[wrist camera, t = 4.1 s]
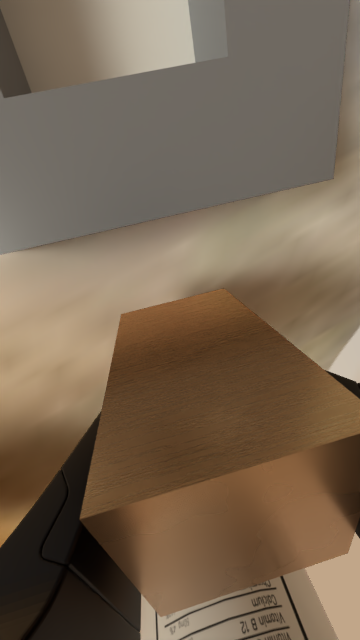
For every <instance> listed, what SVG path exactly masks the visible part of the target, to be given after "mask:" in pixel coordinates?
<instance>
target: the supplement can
mask: <svg viewBox="0 0 360 640" xmlns="http://www.w3.org/2000/svg"><path fill="white" fill-rule="evenodd" d="M141 640H338V638H337V636H336V634H335V632H334V629H333V627H332V625H331V623H330V621H329V619H328V617H327V614H326V612H325V610H324V608H323V606H322V604H321V602H320V600H319V597H318V595H317V593H316V591H315V589H314V587H313V585H312V583H311V580H310V578H309V576H308V574H307V572H306V570H305V568H303V569H300V570H297V571H294V572H291V573H288V574H286V575H283V576H280V577H277V578H274V579H271V580H268V581H265V582H262V583H259V584H256V585H253V586H251V587H248V588H245V589H242V590H239V591H236V592H233V593H230V594H227V595H224V596H221V597H218V598H216V599H213V600H210V601H207V602H204V603H201V604H198V605H195V606H192V607H189V608H186V609H183V610H181V611H178V612H175V613H172V614H169V615H166V616H163V617H160V616H159V615H158V613H157V612H156V611H155V610H154V609H153V607H152V606H151V605H150V604H149V603H148V601H147V600H146V599H145V598H144V597H143V595H142V594H141Z"/></svg>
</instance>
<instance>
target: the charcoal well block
mask: <svg viewBox="0 0 360 640" xmlns="http://www.w3.org/2000/svg"><path fill="white" fill-rule="evenodd" d="M349 6H350V0H0V255H2V254H6V253H10V252H15V251H19V250H24V249H28V248H32V247H37V246H41V245H46V244H50V243H54V242H59V241H63V240H67V239H72V238H76V237H81V236H85V235H89V234H94V233H98V232H102V231H107V230H111V229H116V228H120V227H124V226H129V225H133V224H138V223H142V222H146V221H151V220H155V219H159V218H164V217H168V216H173V215H177V214H181V213H186V212H190V211H194V210H199V209H203V208H208V207H212V206H216V205H221V204H225V203H230V202H234V201H238V200H243V199H247V198H251V197H256V196H260V195H265V194H269V193H273V192H278V191H282V190H287V189H291V188H295V187H300V186H304V185H308V184H313V183H317V182H322V181H326V180H330V179H334V168H335V157H336V146H337V136H338V125H339V114H340V103H341V92H342V81H343V71H344V60H345V49H346V38H347V27H348V16H349Z"/></svg>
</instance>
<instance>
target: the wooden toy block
mask: <svg viewBox="0 0 360 640" xmlns="http://www.w3.org/2000/svg"><path fill="white" fill-rule="evenodd" d="M359 518H360V399H359V398H358V397H357V396H355V395H354V394H353V393H352V392H350V391H349V390H348V389H347V388H345V387H344V386H343V385H342V384H341V383H339V382H338V381H337V380H336V379H334V378H333V377H332V376H331V375H330V374H328V373H327V372H326V371H325V370H323V369H322V368H321V367H320V366H318V365H317V364H316V363H315V362H314V361H312V360H311V359H310V358H309V357H307V356H306V355H305V354H304V353H303V352H301V351H300V350H299V349H298V348H296V347H295V346H294V345H293V344H291V343H290V342H289V341H288V340H287V339H285V338H284V337H283V336H282V335H280V334H279V333H278V332H277V331H276V330H274V329H273V328H272V327H271V326H269V325H268V324H267V323H266V322H264V321H263V320H262V319H261V318H260V317H258V316H257V315H256V314H255V313H253V312H252V311H251V310H250V309H248V308H247V307H246V306H245V305H244V304H242V303H241V302H240V301H239V300H237V299H236V298H235V297H234V296H233V295H231V294H230V293H229V292H228V291H226V290H225V289H224V288H223V289H219V290H215V291H211V292H207V293H203V294H200V295H196V296H192V297H188V298H184V299H180V300H176V301H172V302H168V303H164V304H160V305H156V306H152V307H148V308H144V309H140V310H136V311H132V312H128V313H124V314H121V318H120V323H119V328H118V333H117V338H116V343H115V348H114V353H113V358H112V362H111V367H110V372H109V377H108V382H107V387H106V392H105V397H104V402H103V407H102V412H101V416H100V421H99V426H98V431H97V436H96V441H95V446H94V451H93V456H92V461H91V466H90V471H89V475H88V480H87V485H86V490H85V495H84V500H83V505H82V510H81V515H80V521H81V522H82V523H83V524H84V526H85V527H86V528H87V529H88V530H89V532H90V533H91V534H92V535H93V536H94V538H95V539H96V540H97V541H98V542H99V544H100V545H101V546H102V547H103V548H104V550H105V551H106V552H107V553H108V555H109V556H110V557H111V558H112V559H113V561H114V562H115V563H116V564H117V565H118V567H119V568H120V569H121V570H122V571H123V573H124V574H125V575H126V576H127V577H128V579H129V580H130V581H131V582H132V583H133V585H134V586H135V587H136V588H137V589H138V591H139V592H140V593H141V594H142V595H143V597H144V598H145V599H146V600H147V601H148V603H149V604H150V605H151V606H152V607H153V609H154V610H155V611H156V612H157V613H158V615H159V616H160V617H163V616H166V615H169V614H172V613H175V612H178V611H181V610H183V609H186V608H189V607H192V606H195V605H198V604H201V603H204V602H207V601H210V600H213V599H216V598H218V597H221V596H224V595H227V594H230V593H233V592H236V591H239V590H242V589H245V588H248V587H251V586H253V585H256V584H259V583H262V582H265V581H268V580H271V579H274V578H277V577H280V576H283V575H286V574H288V573H291V572H294V571H297V570H300V569H303V568H306V567H309V566H312V565H315V564H318V563H320V562H323V561H326V560H329V559H332V558H335V557H338V556H341V555H344V554H347V553H348V551H349V548H350V545H351V542H352V539H353V536H354V533H355V530H356V527H357V524H358V521H359Z"/></svg>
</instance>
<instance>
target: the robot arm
mask: <svg viewBox="0 0 360 640" xmlns="http://www.w3.org/2000/svg"><path fill="white" fill-rule="evenodd" d="M325 371H326V370H325ZM326 372H327V373H328V374H330V375H331V376H332V377H333V378H334V379H336V380H337V381H338V382H339V383H341V384H342V385H343V386H344V387H345V388H347V389H348V390H349V391H350V392H352V393H353V394H354V395H355V396H357V397H358V398H359V399H360V383H356V382H355V381H353V380H350V379H347V378H344V377H341V376H339V375H336V374H334V373H331V372H329V371H326ZM101 412H102V411H101ZM101 412H100V413H99V415H98V416H97V418H96V419H95V420H94V422H93V423H92V425H91V426H90V428H89V429H88V430H87V432H86V433H85V435H84V436H83V437H82V439H81V440H80V442H79V443H78V445H77V446H76V447H75V449H74V450H73V452H72V453H71V454H70V456H69V457H68V459H67V460H66V462H65V463H64V464H63V466H62V467H61V470H59V471H58V473H57V474H56V475H55V477H54V478H53V480H52V481H51V483H50V484H49V485H48V487H47V488H46V489H45V491H44V492H43V493H42V495H41V496H40V498H39V499H38V500H37V502H36V503H35V504H34V506H33V507H32V508H31V510H30V511H29V512H28V513H27V515H26V516H25V517H24V518H23V520H22V521H21V522H20V524H19V525H18V526H17V527H16V529H15V530H14V531H13V532H12V534H11V535H10V536H9V537H8V539H7V540H6V541H5V542H4V544H3V545H2V546H1V547H0V640H141V634H140V633H139V632H140V630H141V593H140V592H139V591H138V589H137V588H136V587H135V586H134V585H133V583H132V582H131V581H130V580H129V579H128V577H127V576H126V575H125V574H124V573H123V571H122V570H121V569H120V568H119V567H118V565H117V564H116V563H115V562H114V561H113V559H112V558H111V557H110V556H109V555H108V553H107V552H106V551H105V550H104V548H103V547H102V546H101V545H100V544H99V542H98V541H97V540H96V539H95V538H94V536H93V535H92V534H91V533H90V532H89V530H88V529H87V528H86V527H85V526H84V524H83V523H82V522H81V521H80V515H81V510H82V505H83V500H84V495H85V490H86V485H87V480H88V475H89V471H90V466H91V461H92V456H93V451H94V446H95V441H96V436H97V431H98V426H99V421H100V416H101ZM355 532H356V534H357V535H358V537H359V538H360V518H359V521H358V524H357V527H356V530H355Z"/></svg>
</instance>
